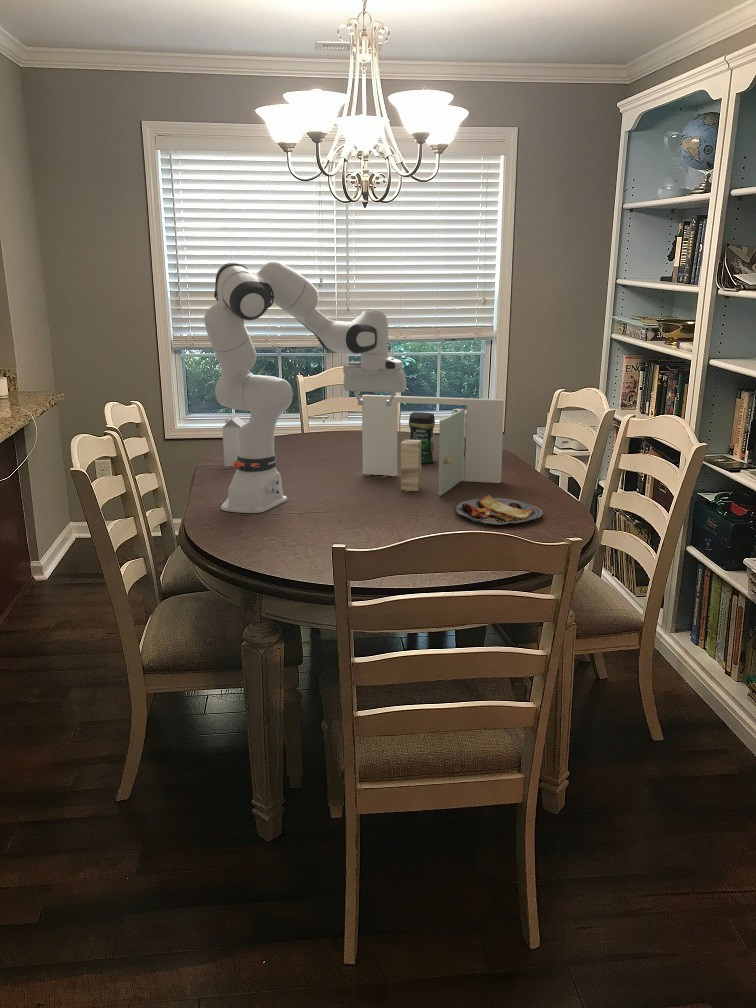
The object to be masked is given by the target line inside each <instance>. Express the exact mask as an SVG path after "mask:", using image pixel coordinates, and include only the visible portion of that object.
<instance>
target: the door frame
mask: <svg viewBox="0 0 756 1008" xmlns="http://www.w3.org/2000/svg"><path fill="white" fill-rule="evenodd" d="M390 398H391V396H390V395H385V394H384V395H380V394H379V395H378V394H375V395H374V394H362V395H361V399H363V403H364V404H363V405H361V424H362V425H361V426H362V427H361V429H362V430H361V433H362V434H361V436H362V441H361V442H362V445H361V446H362V449H361V450H362V451H361V452H362V475H363V474H374V475H389V476H396V475H397V476H398V404H422V405H451V406H453V405H454V406H466V410H467V416H466V454H464V455H465V456H464V481H465V482H472V483H474V482H476V483H477V482H478V483H493V484H494V483H495V484H501V481H502V459H503V439H504V438H503V437H504V435H503V431H504V411H505V409H504V408H505V399H499V398H498V399H497V398H475V397H473V398H472V397H471V398H469V397H466V398H465V397H444V396H443V397H442V396H437V397H436V396H413V395H411V396H410V395H408V396H407V395H395V396H394V398H393V400H392V406H386V404H387V403H386V401H387V400H389V399H390Z"/></svg>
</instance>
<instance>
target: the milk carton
mask: <svg viewBox="0 0 756 1008" xmlns="http://www.w3.org/2000/svg"><path fill="white" fill-rule="evenodd" d="M224 421H225V424H224V425H223V426H222V432H221V433H222V443H223V444H222V445H223V446H222V447H223V461H224V462H223V463H224V464H223V465H224V467H225V466H234V465H233V463H234V461H237V456H238V455H239V453H238V435H237V434H238V431H239V429H240V428H241V427H242V426H243V425H245V424H247V423H246V422H244V420H242V419H241V418H240V417H239V416H238V415H237V412H235V413H234V414H232V415H231V416H230V417H228V418H227V419H225V420H224Z"/></svg>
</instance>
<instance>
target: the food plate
mask: <svg viewBox="0 0 756 1008" xmlns="http://www.w3.org/2000/svg"><path fill="white" fill-rule="evenodd" d="M454 511H455V512H456V514H457V515H460V516H463V517H465V518H468V519H469V520H470V521H472V522H476V523H482V524H488V525H489V524H490V525H496V526H497V525H510V524H509V523H511V522H512V523H514V524H519V523H523V522H529V521H531V520H532V521H533V520H536V519H538V518H540V517H541V516H542V514H543V510H542V509H541V508H539V507H537V505H534V504H533V503H531V502H526V501H523V500H522V501H521V500H517V499H511V498H503V497H502V498H501V497H492V496H491V495H490V494H486V495H484V496H483V497H482V498H473V499H466V500H464V501H460V502H459V503H457V505H455V506H454ZM531 516H532V517H531ZM513 517H514V518H513ZM474 518H476V519H474ZM488 518H489V519H490V518H491V519H492V518H495V519H498V520H501V521H504V522H507V523H504V522H501V521H500V522H498V523H497V521H493V522H491V521H484V520H483V519H488ZM515 518H518V519H524V520H518V519H515ZM477 519H481V520H477ZM514 521H516V522H514Z"/></svg>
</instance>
